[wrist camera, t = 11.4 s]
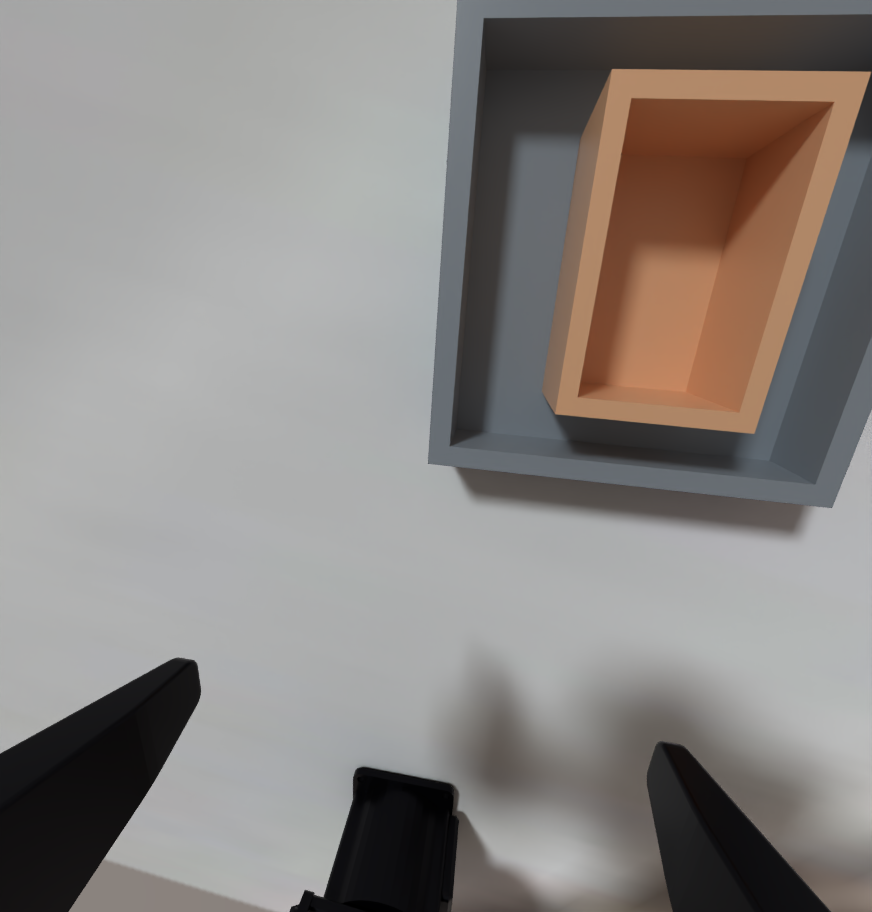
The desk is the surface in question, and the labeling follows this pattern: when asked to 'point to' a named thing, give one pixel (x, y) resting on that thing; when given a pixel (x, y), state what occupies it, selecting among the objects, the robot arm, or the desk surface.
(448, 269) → the big crate
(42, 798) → the robot arm
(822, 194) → the small crate
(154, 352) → the desk surface
